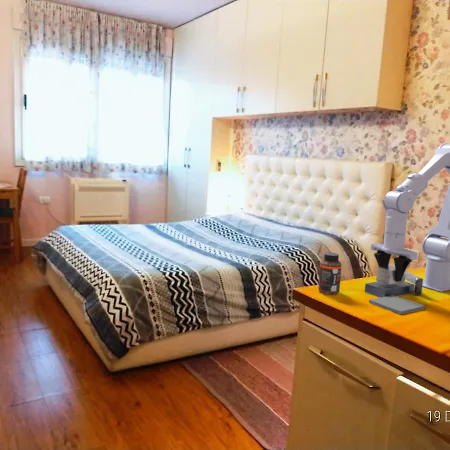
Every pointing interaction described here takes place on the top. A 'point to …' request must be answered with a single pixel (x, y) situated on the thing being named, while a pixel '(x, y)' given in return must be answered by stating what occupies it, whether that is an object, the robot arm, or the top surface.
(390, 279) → the grey rectangular block
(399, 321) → the top surface
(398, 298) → the rubber mat
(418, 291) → the steel lever
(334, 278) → the supplement bottle
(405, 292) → the grey piece
